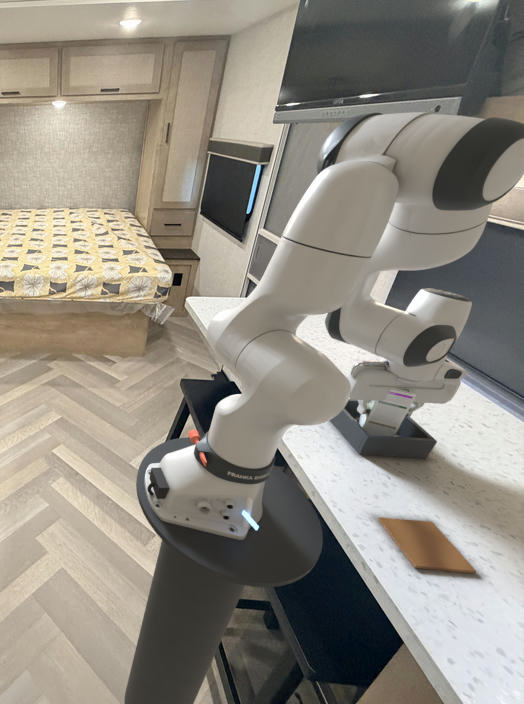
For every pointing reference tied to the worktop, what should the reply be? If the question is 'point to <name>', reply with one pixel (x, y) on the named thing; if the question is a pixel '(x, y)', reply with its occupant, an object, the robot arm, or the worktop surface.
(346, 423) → the bin
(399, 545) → the mat
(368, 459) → the worktop surface
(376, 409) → the syrup box
